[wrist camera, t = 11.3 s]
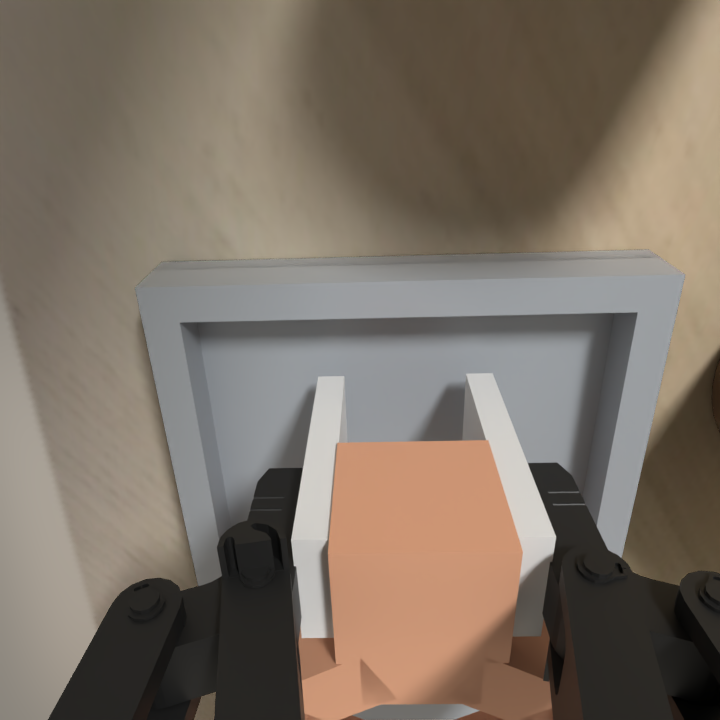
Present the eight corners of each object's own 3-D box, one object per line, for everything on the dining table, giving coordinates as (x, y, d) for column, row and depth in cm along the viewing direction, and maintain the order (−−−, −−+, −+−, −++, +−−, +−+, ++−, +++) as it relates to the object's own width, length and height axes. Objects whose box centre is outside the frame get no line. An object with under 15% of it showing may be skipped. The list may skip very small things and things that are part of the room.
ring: (555, 753, 19) (591, 889, 16) (265, 754, 19) (244, 887, 16) (617, 437, 14) (690, 549, 11) (211, 444, 14) (166, 555, 11)
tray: (161, 261, 17) (135, 287, 15) (648, 249, 17) (685, 274, 15) (237, 669, 25) (226, 720, 23) (568, 667, 25) (585, 718, 23)
